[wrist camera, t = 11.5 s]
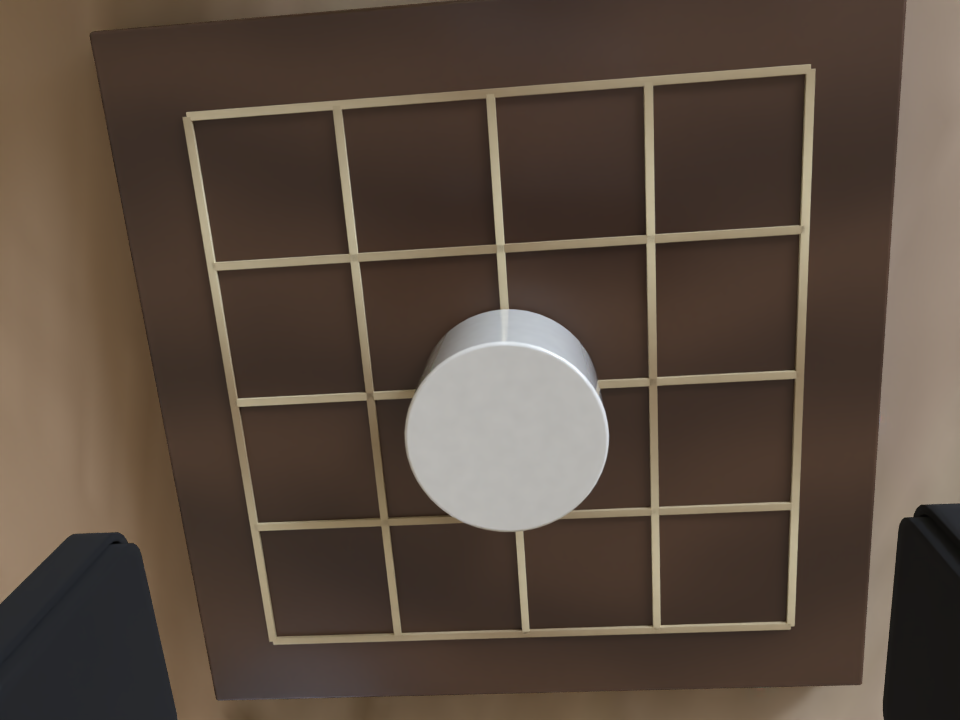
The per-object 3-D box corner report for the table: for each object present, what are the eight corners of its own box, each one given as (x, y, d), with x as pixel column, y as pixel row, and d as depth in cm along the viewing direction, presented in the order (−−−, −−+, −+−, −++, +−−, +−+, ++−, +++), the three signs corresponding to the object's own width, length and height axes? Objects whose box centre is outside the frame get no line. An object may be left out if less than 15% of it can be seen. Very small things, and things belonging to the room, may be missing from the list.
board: (111, 35, 20) (84, 31, 19) (887, -31, 19) (912, -40, 18) (229, 675, 26) (214, 704, 24) (847, 658, 24) (864, 689, 23)
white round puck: (412, 313, 21) (394, 347, 18) (595, 303, 20) (606, 336, 18) (428, 480, 22) (413, 537, 19) (601, 472, 22) (612, 529, 19)
